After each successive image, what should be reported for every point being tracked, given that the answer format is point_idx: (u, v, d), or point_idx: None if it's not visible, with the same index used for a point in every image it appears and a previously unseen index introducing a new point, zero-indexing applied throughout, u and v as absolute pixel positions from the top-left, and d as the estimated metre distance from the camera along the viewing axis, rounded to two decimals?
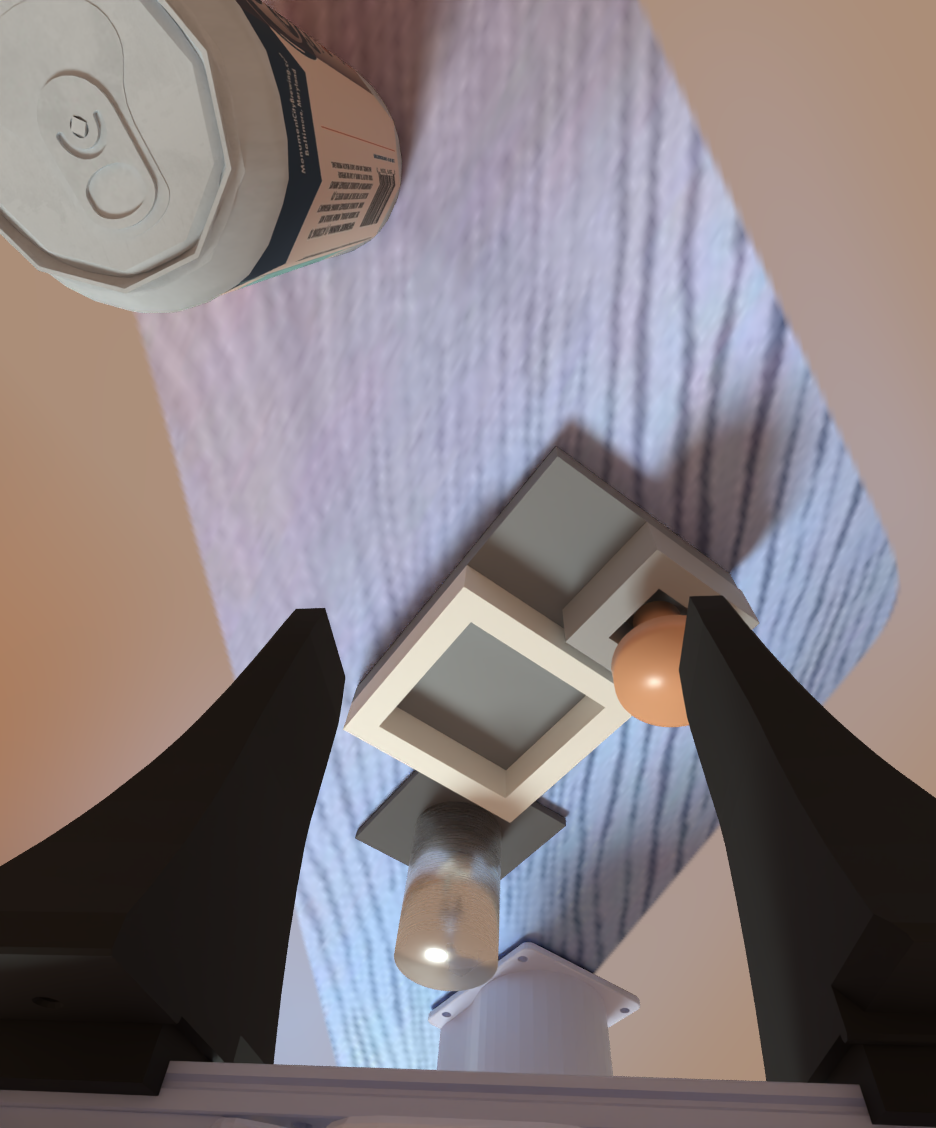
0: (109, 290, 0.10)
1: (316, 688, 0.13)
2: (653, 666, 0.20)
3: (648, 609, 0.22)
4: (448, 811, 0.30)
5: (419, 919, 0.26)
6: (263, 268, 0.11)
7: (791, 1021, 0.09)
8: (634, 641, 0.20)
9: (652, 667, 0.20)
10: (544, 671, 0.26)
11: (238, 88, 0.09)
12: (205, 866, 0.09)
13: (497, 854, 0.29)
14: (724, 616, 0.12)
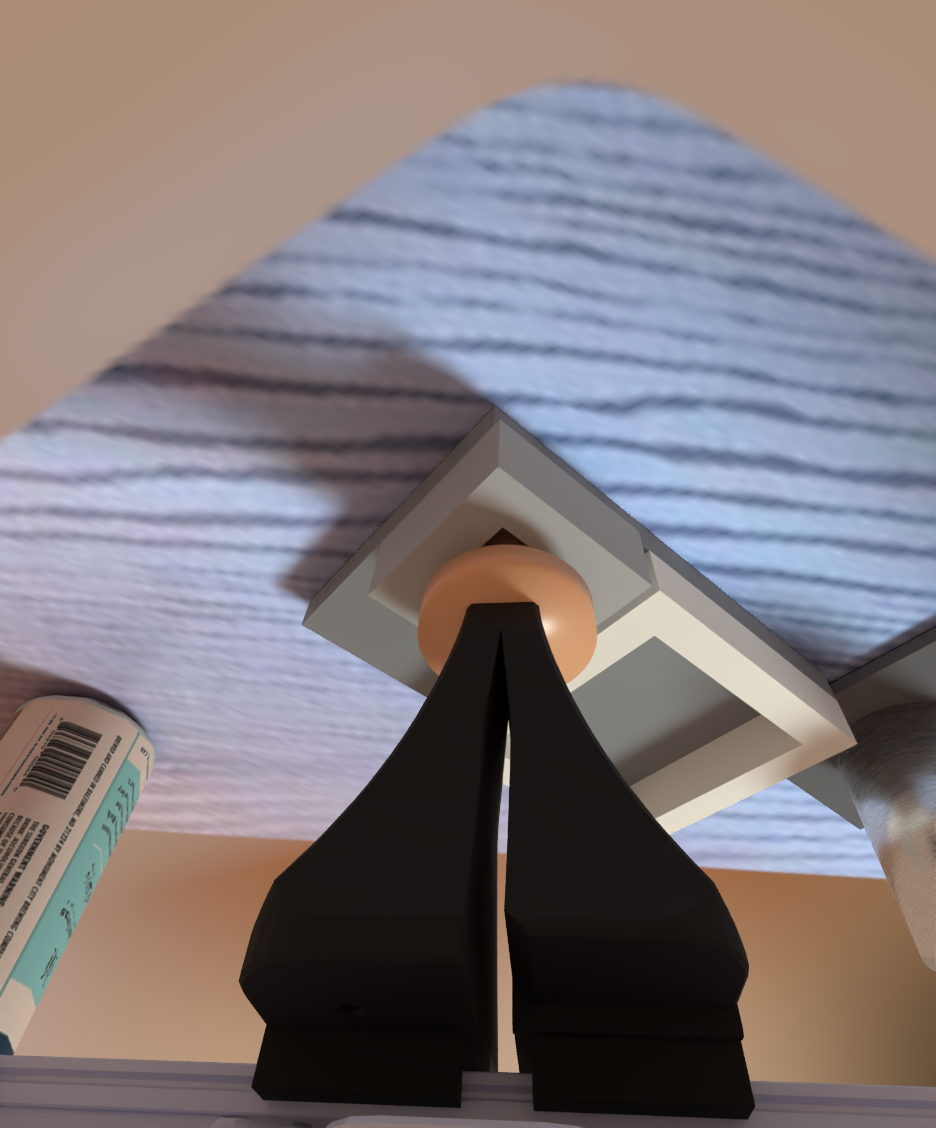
0: None
1: (501, 684, 0.12)
2: None
3: None
4: (841, 760, 0.21)
5: (913, 937, 0.18)
6: None
7: None
8: None
9: None
10: None
11: None
12: (476, 868, 0.08)
13: (933, 750, 0.19)
14: (523, 622, 0.12)
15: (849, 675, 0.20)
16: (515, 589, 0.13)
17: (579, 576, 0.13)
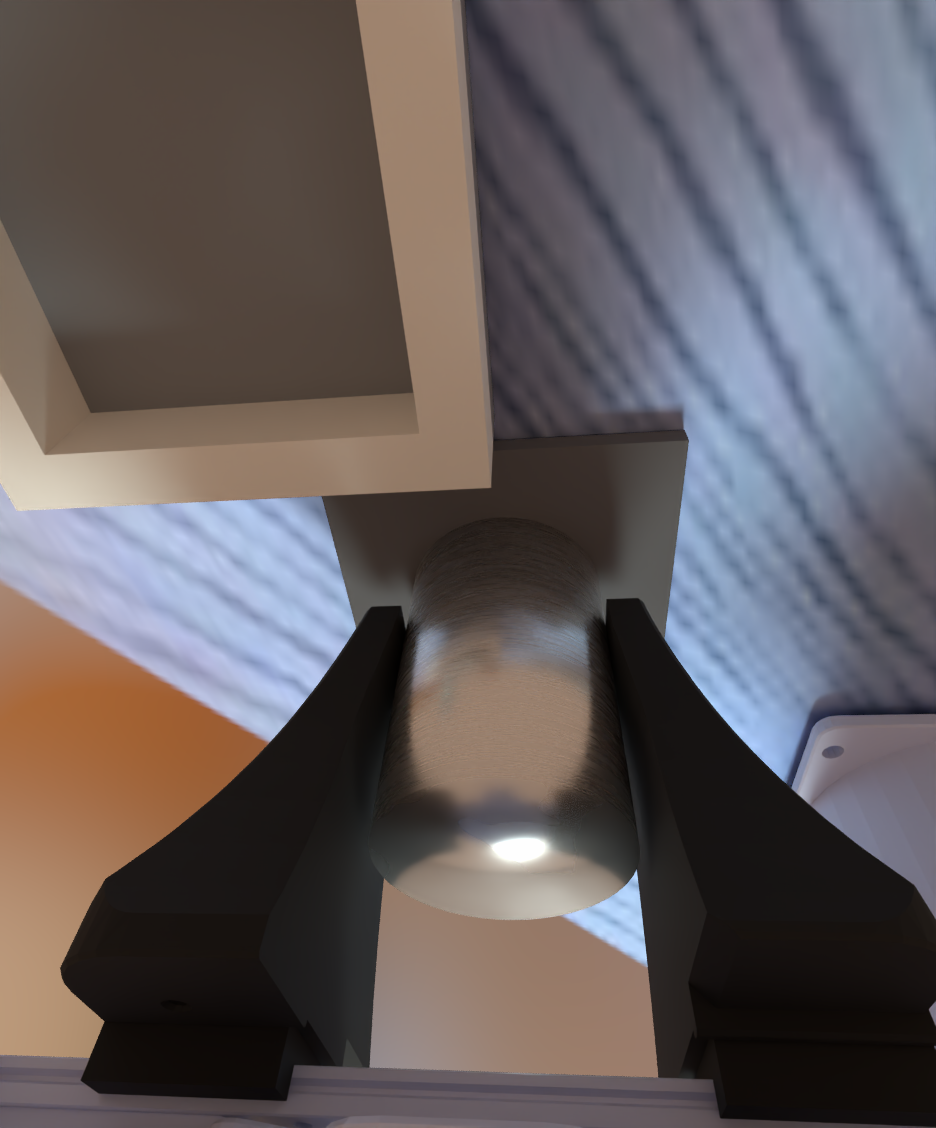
0: None
1: (395, 686, 0.13)
2: None
3: None
4: (430, 561, 0.14)
5: (377, 797, 0.10)
6: None
7: (669, 1018, 0.09)
8: None
9: None
10: (221, 20, 0.08)
11: None
12: (321, 867, 0.09)
13: (558, 581, 0.12)
14: (635, 619, 0.12)
15: (521, 440, 0.13)
16: None
17: None
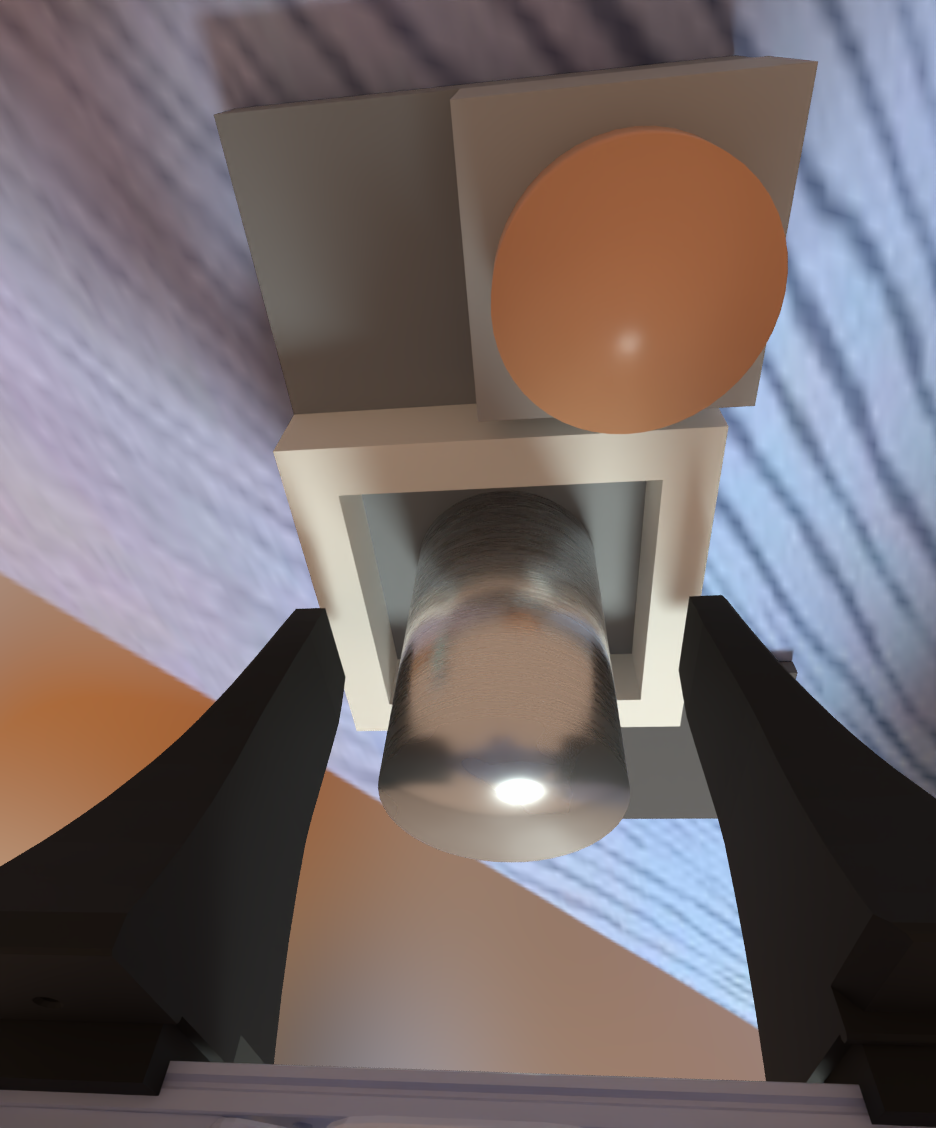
0: None
1: (316, 688, 0.13)
2: (564, 311, 0.09)
3: None
4: (434, 532, 0.14)
5: (387, 742, 0.11)
6: None
7: (791, 1021, 0.09)
8: None
9: (565, 315, 0.09)
10: (550, 486, 0.14)
11: None
12: (205, 866, 0.09)
13: (555, 548, 0.13)
14: (724, 616, 0.12)
15: None
16: (735, 229, 0.08)
17: None
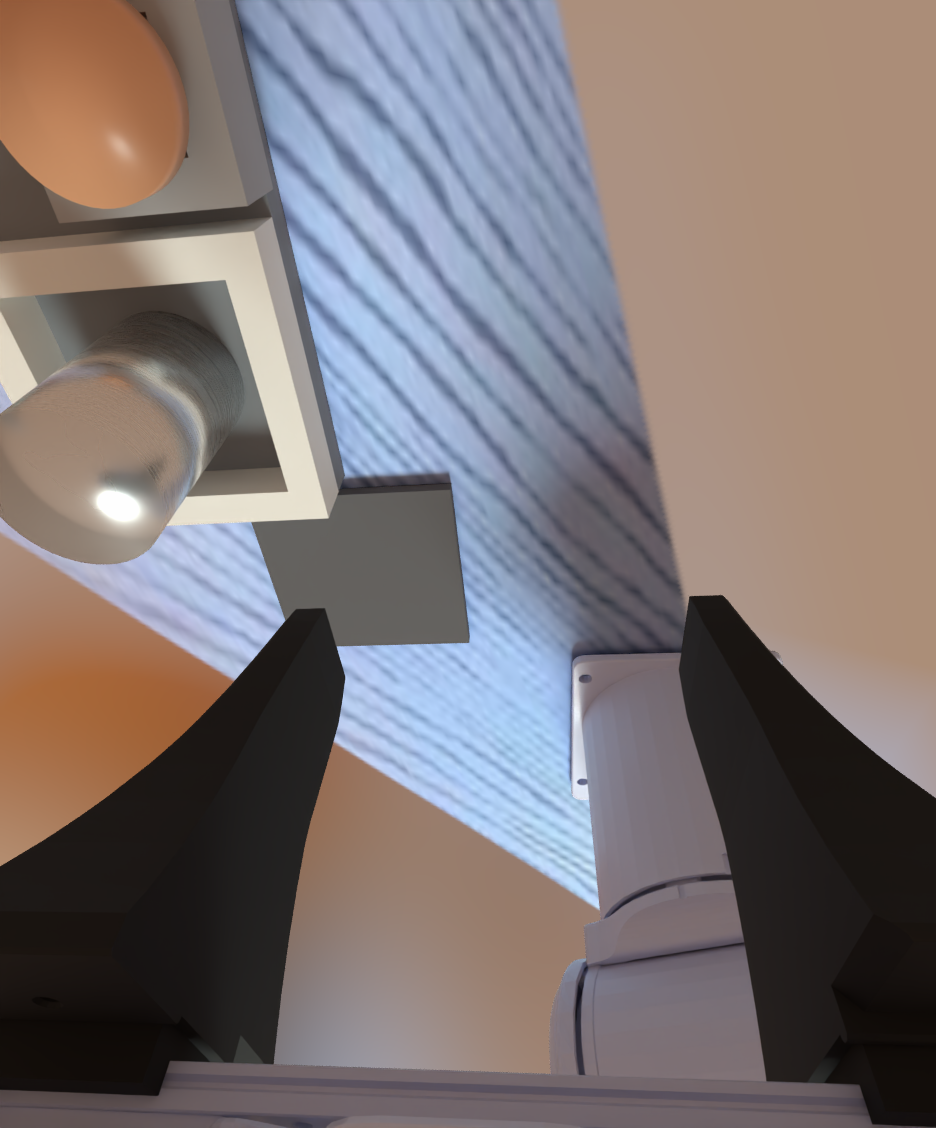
0: None
1: (316, 688, 0.13)
2: (31, 107, 0.13)
3: None
4: None
5: None
6: None
7: (791, 1021, 0.09)
8: None
9: (33, 110, 0.13)
10: (184, 306, 0.18)
11: None
12: (205, 866, 0.09)
13: (165, 342, 0.17)
14: (724, 616, 0.12)
15: (361, 488, 0.23)
16: (114, 42, 0.12)
17: (186, 110, 0.13)
